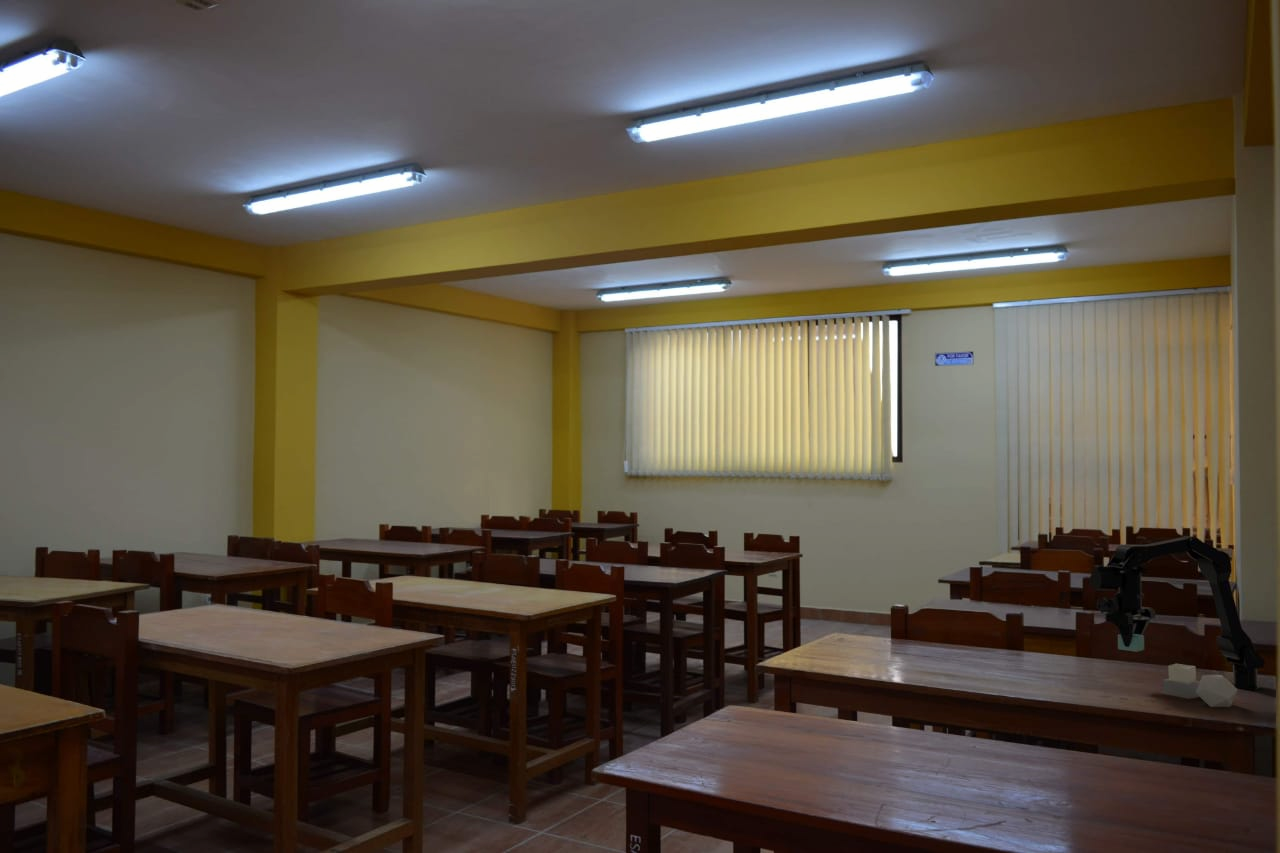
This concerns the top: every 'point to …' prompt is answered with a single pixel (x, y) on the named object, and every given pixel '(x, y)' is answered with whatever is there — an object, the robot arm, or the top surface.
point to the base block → (1180, 688)
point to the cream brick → (1182, 673)
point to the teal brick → (1132, 643)
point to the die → (1216, 691)
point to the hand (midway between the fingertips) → (1131, 645)
